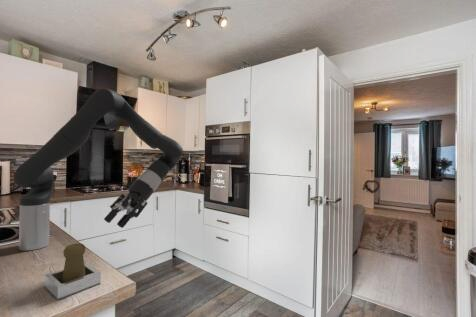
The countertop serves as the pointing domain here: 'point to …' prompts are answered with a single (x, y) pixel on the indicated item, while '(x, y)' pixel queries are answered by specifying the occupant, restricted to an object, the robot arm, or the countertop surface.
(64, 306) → the countertop surface
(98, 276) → the grey shallow square box
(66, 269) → the cork
